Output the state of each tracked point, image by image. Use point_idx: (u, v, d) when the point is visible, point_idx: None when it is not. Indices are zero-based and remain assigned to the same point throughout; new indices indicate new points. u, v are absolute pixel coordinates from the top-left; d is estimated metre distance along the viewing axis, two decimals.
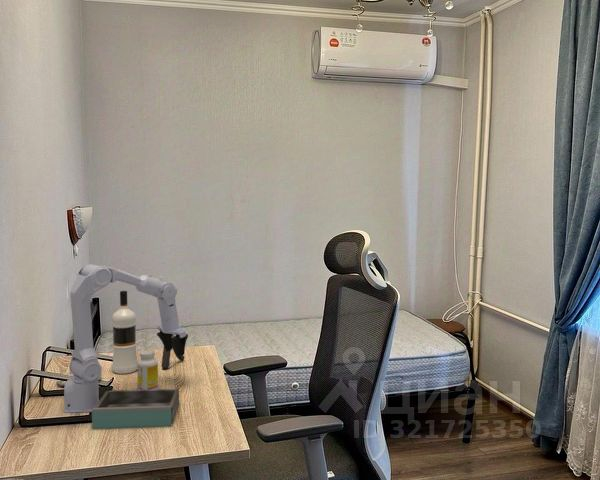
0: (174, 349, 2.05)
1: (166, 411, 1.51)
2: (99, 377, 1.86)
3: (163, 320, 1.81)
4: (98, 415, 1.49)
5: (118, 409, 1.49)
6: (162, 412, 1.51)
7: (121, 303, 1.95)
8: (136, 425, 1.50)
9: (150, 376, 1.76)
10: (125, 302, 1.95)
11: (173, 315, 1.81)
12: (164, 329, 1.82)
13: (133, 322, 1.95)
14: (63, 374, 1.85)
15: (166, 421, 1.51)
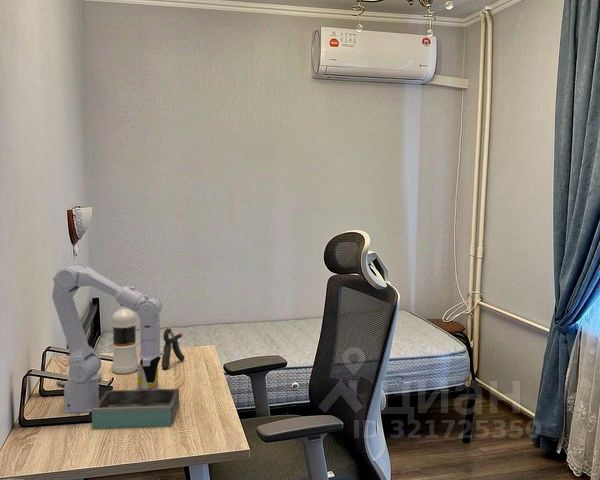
0: (174, 349, 2.05)
1: (166, 411, 1.51)
2: (99, 376, 1.86)
3: (140, 340, 1.60)
4: (98, 415, 1.49)
5: (118, 409, 1.49)
6: (162, 412, 1.51)
7: None
8: (136, 425, 1.50)
9: None
10: None
11: (147, 338, 1.58)
12: None
13: (133, 322, 1.95)
14: (63, 374, 1.86)
15: (166, 421, 1.51)
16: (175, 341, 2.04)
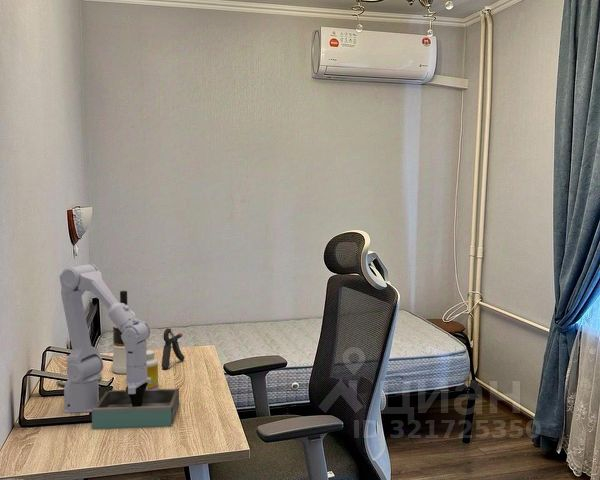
0: (174, 349, 2.05)
1: (166, 411, 1.51)
2: (99, 376, 1.87)
3: (126, 367, 1.56)
4: (98, 415, 1.49)
5: (118, 409, 1.49)
6: (162, 412, 1.51)
7: None
8: (136, 425, 1.50)
9: (150, 376, 1.76)
10: (125, 302, 1.95)
11: (130, 364, 1.54)
12: None
13: None
14: (63, 373, 1.86)
15: (166, 421, 1.51)
16: (175, 341, 2.04)
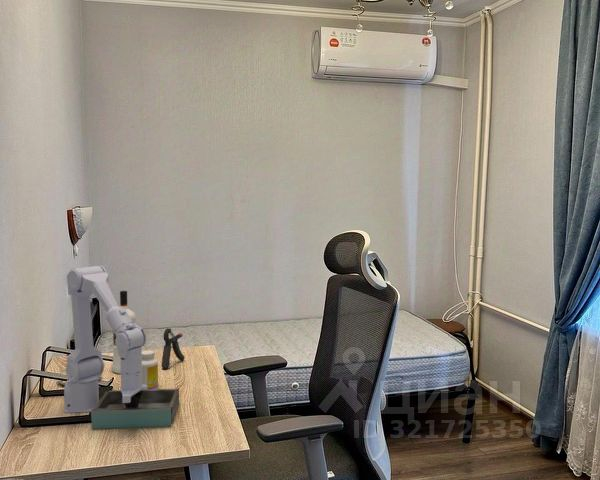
0: (174, 349, 2.05)
1: (166, 412, 1.50)
2: (100, 376, 1.87)
3: None
4: (98, 416, 1.48)
5: (117, 410, 1.49)
6: (162, 413, 1.50)
7: (121, 303, 1.95)
8: (136, 425, 1.50)
9: (150, 376, 1.76)
10: (125, 302, 1.95)
11: (123, 371, 1.47)
12: (121, 385, 1.49)
13: (133, 322, 1.95)
14: (63, 373, 1.86)
15: (166, 421, 1.51)
16: (175, 341, 2.04)
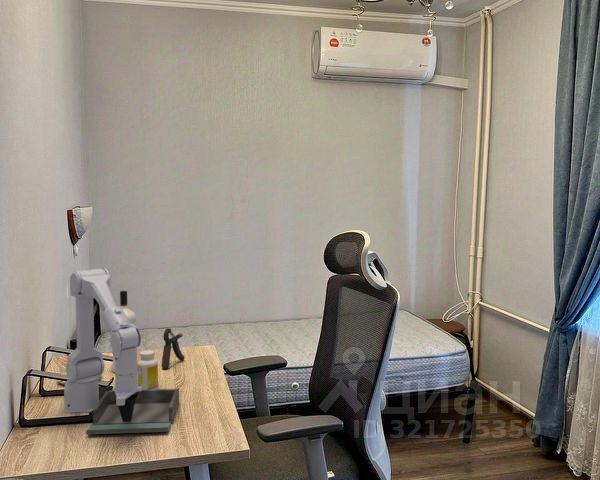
0: (174, 349, 2.05)
1: None
2: (100, 375, 1.87)
3: (115, 375, 1.43)
4: None
5: (114, 432, 1.45)
6: None
7: (121, 303, 1.95)
8: None
9: (150, 376, 1.76)
10: (125, 302, 1.95)
11: (116, 372, 1.41)
12: None
13: (133, 322, 1.95)
14: (64, 373, 1.86)
15: None
16: (175, 341, 2.04)
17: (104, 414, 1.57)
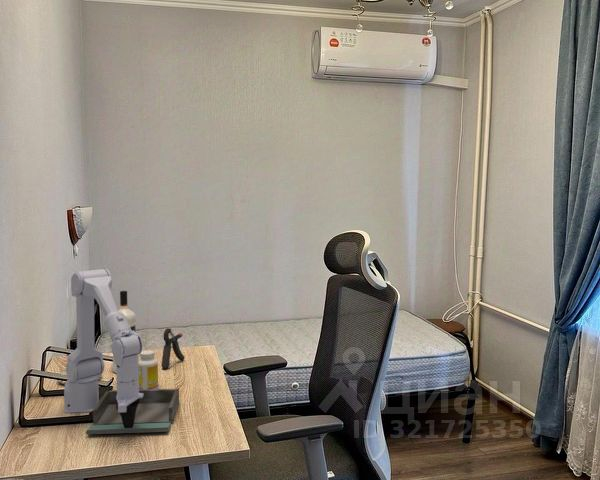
0: (174, 349, 2.05)
1: None
2: (100, 375, 1.88)
3: None
4: None
5: (114, 432, 1.45)
6: None
7: (121, 303, 1.95)
8: None
9: (150, 376, 1.76)
10: (125, 302, 1.95)
11: (118, 379, 1.43)
12: None
13: (133, 322, 1.95)
14: (64, 372, 1.87)
15: None
16: (175, 341, 2.04)
17: (104, 414, 1.57)
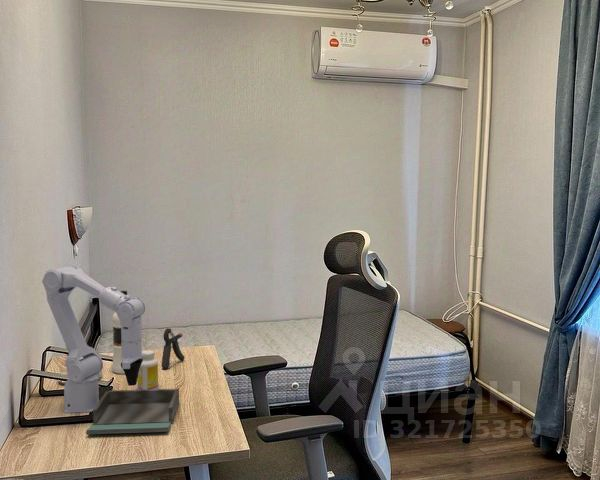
0: (174, 349, 2.05)
1: None
2: (100, 375, 1.88)
3: (121, 342, 1.57)
4: None
5: (114, 432, 1.45)
6: None
7: None
8: None
9: (150, 376, 1.76)
10: None
11: (126, 340, 1.55)
12: None
13: None
14: (64, 372, 1.87)
15: None
16: (175, 341, 2.04)
17: (104, 414, 1.57)
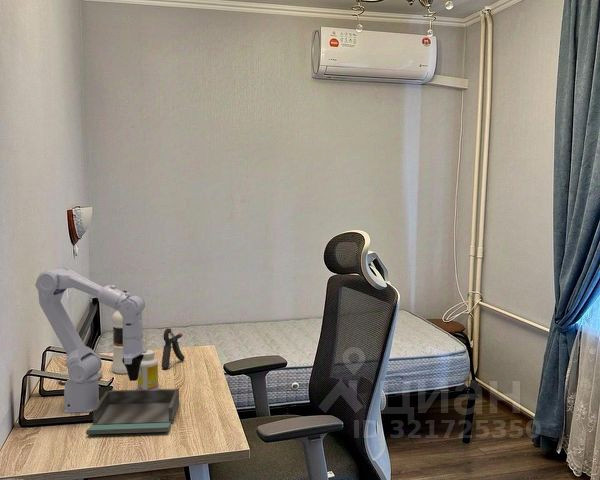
0: (174, 349, 2.05)
1: None
2: (100, 374, 1.89)
3: None
4: None
5: (114, 432, 1.45)
6: None
7: None
8: None
9: (150, 376, 1.76)
10: None
11: (129, 336, 1.58)
12: (123, 349, 1.60)
13: None
14: (64, 372, 1.87)
15: None
16: (175, 341, 2.04)
17: (104, 414, 1.57)
